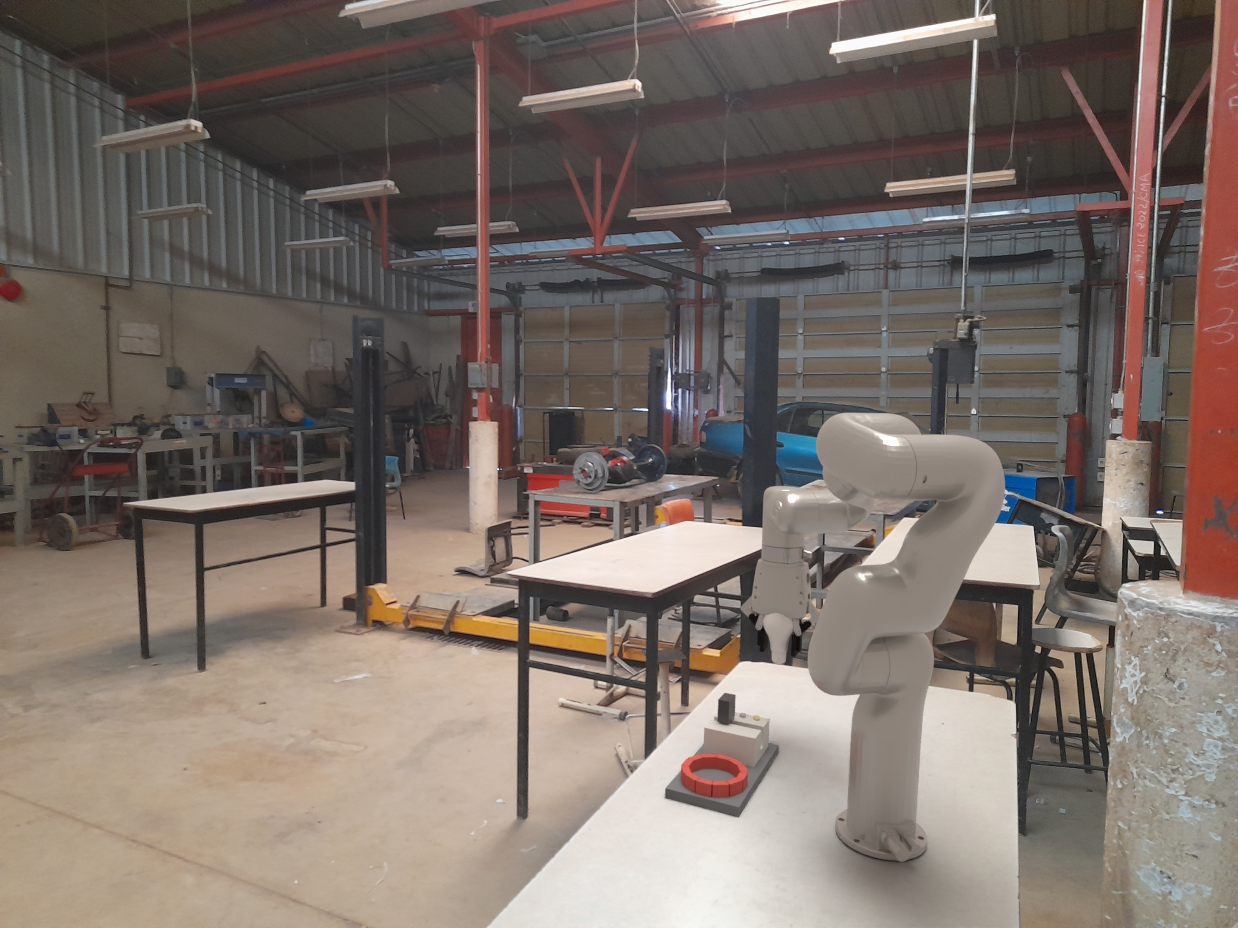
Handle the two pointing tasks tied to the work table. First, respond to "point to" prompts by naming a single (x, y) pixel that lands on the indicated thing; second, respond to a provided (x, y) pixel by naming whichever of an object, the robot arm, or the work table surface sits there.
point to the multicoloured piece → (726, 765)
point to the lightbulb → (778, 635)
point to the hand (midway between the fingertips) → (779, 651)
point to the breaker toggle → (726, 708)
